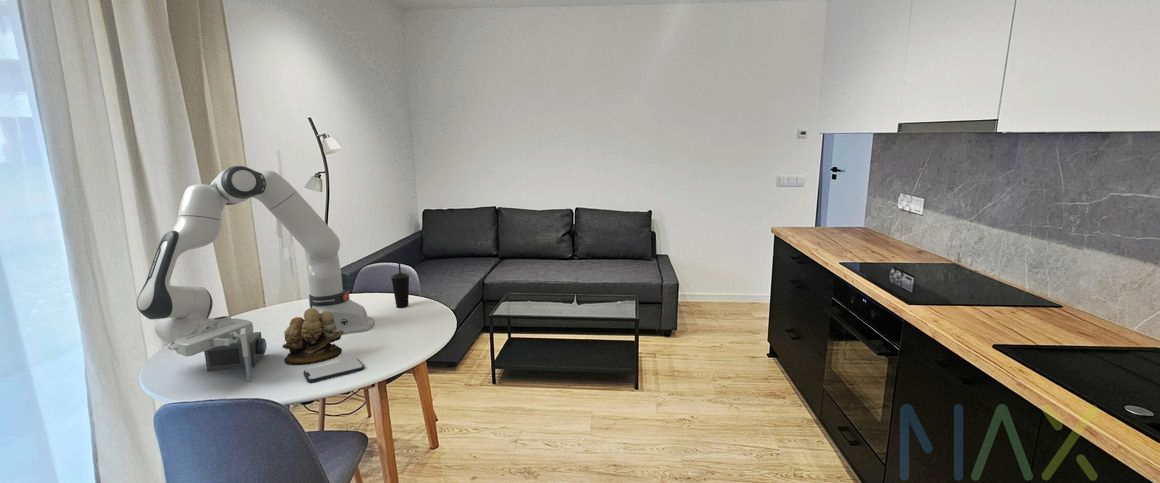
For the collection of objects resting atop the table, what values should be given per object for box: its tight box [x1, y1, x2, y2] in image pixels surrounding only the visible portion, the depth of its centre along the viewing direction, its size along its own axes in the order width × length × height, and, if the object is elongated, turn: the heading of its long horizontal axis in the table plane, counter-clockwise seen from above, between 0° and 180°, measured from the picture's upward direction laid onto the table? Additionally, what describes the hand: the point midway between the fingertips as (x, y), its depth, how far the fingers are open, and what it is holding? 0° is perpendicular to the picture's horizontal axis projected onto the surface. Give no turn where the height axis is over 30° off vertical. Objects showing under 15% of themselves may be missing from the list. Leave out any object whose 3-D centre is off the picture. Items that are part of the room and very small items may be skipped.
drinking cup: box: [390, 260, 411, 309], centre depth 219 cm, size 8×8×20 cm
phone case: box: [303, 358, 365, 384], centre depth 159 cm, size 9×2×16 cm
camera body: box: [203, 331, 267, 372], centre depth 165 cm, size 15×10×9 cm, turn 106°
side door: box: [240, 328, 254, 383], centre depth 156 cm, size 12×1×15 cm, turn 31°
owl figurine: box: [282, 307, 344, 366], centre depth 168 cm, size 18×12×17 cm, turn 119°
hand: (234, 340), depth 150 cm, fingers closed
